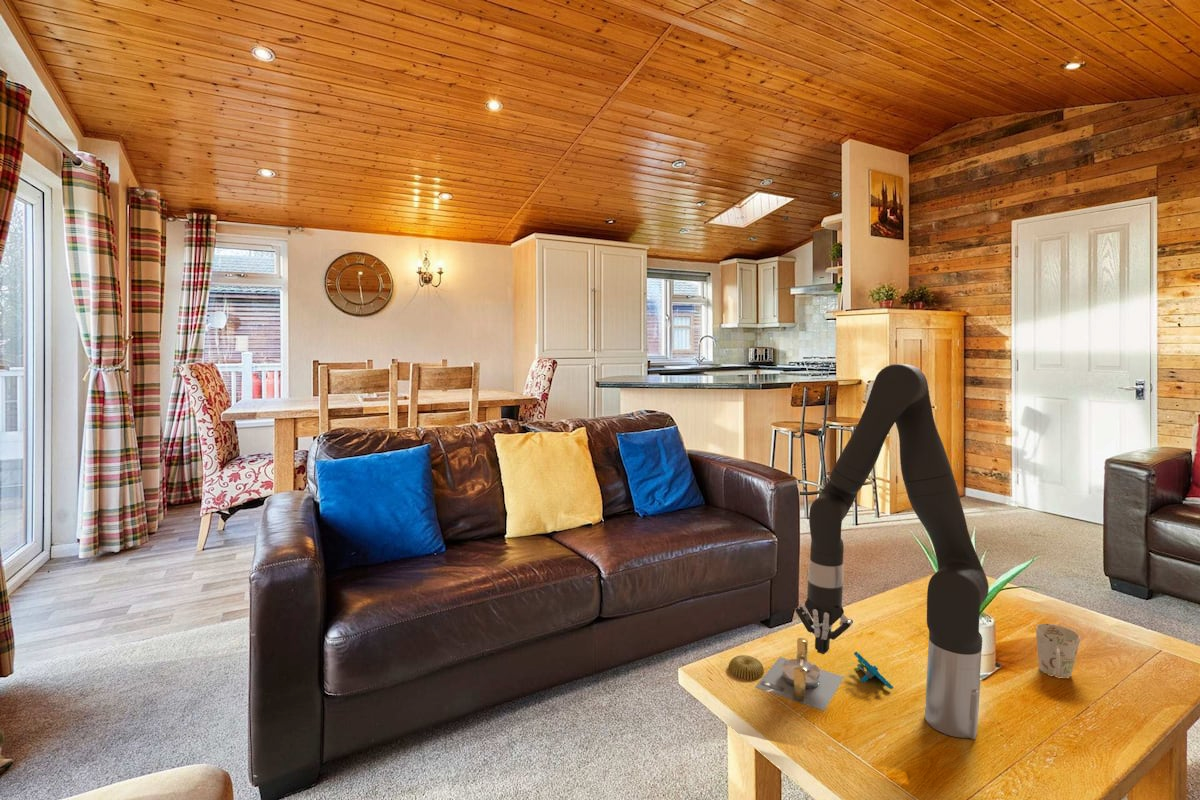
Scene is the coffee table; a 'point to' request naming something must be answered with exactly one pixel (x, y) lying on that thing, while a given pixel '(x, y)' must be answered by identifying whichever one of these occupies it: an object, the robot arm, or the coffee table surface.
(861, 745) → the coffee table surface
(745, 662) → the sculpture
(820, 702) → the board
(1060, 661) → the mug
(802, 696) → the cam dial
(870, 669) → the gear
